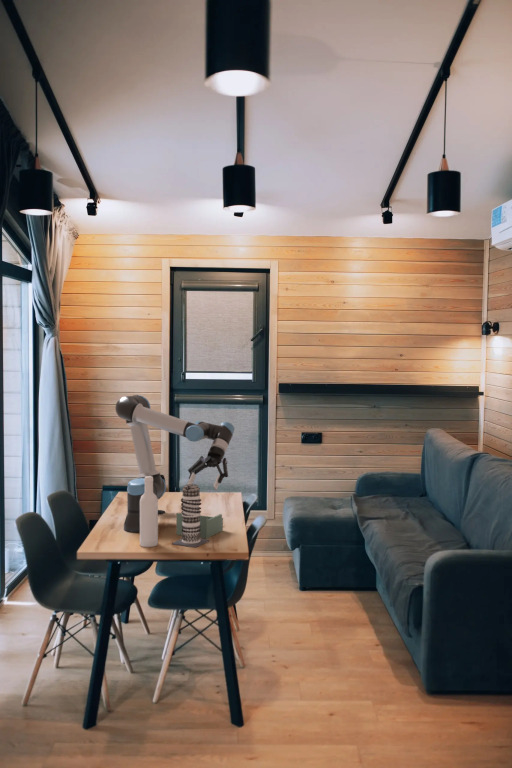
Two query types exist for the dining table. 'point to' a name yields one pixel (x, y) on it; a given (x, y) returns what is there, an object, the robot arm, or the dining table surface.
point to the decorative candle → (191, 514)
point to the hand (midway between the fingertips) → (201, 487)
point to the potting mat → (190, 544)
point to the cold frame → (203, 525)
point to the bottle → (148, 515)
